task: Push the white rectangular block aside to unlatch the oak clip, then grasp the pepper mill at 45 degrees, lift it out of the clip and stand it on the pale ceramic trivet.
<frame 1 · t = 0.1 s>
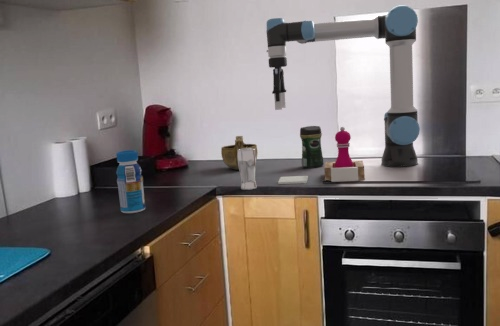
hand: (280, 108, 207), 28 cm above the countertop, tool pointing down, fingers open, 13 cm apart
beverage bottle: (133, 211, 164), on the countertop
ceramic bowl: (240, 169, 233), on the countertop
coffee jar: (312, 167, 225), on the countertop
trivet: (293, 180, 195), on the countertop
pepper mill: (344, 177, 195), resting in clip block
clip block: (344, 177, 195), on the countertop
beer glass: (248, 188, 187), on the countertop
white rectangular block: (344, 174, 186), point 3 cm above the countertop, slide at 0.0 cm
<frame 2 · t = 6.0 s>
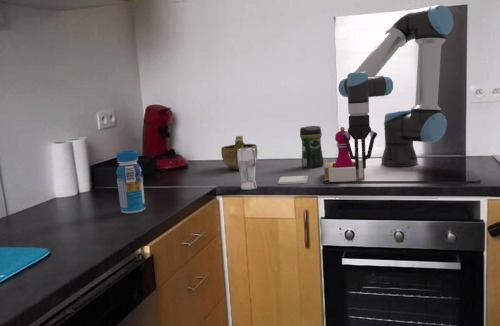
hand: (361, 177, 185), 2 cm above the countertop, tool pointing down, fingers closed
white rectangular block: (342, 174, 186), point 3 cm above the countertop, slide at 0.8 cm, touching gripper
everything else where it was.
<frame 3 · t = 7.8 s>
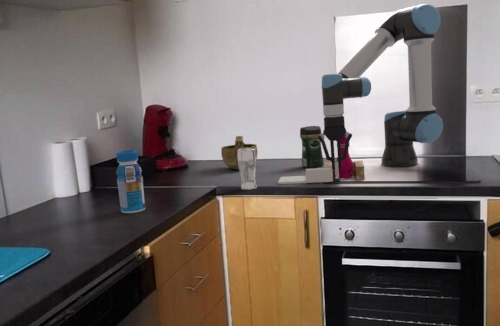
hand: (337, 178, 187), 1 cm above the countertop, tool pointing down, fingers closed
white rectangular block: (319, 175, 188), point 3 cm above the countertop, slide at 9.5 cm, touching gripper, trivet
everything else where it was.
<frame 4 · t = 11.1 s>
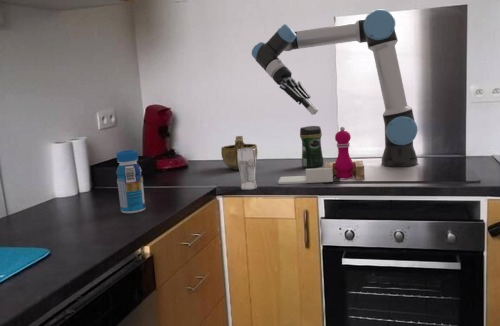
hand: (315, 112, 196), 26 cm above the countertop, tool tilted 45°, fingers closed
white rectangular block: (319, 175, 188), point 3 cm above the countertop, slide at 9.5 cm, touching trivet
everything else where it was.
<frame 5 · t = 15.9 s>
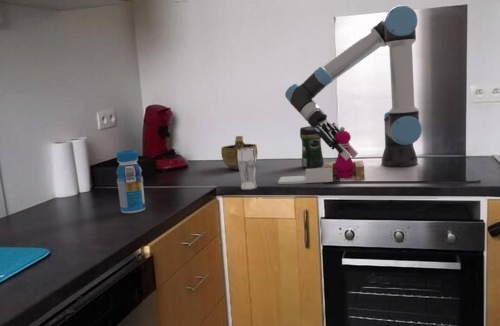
hand: (352, 156, 192), 8 cm above the countertop, tool tilted 45°, fingers closed on pepper mill, 5 cm apart
pepper mill: (344, 177, 195), resting in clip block, touching gripper
everything else where it was.
when the fingers open (11 cm above the countertop, at t = 21.1 s): pepper mill drops 1 cm, resting on trivet.
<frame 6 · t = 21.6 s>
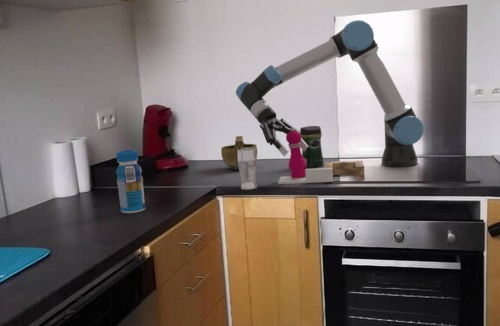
hand: (296, 151, 192), 12 cm above the countertop, tool tilted 45°, fingers open, 13 cm apart
pepper mill: (299, 176, 199), point 1 cm above the countertop, touching trivet
everything else where it was.
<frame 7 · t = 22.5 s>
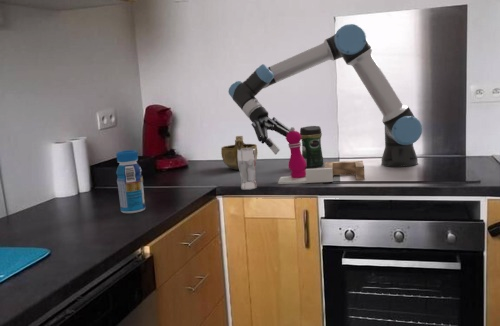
hand: (288, 149, 194), 12 cm above the countertop, tool tilted 45°, fingers open, 13 cm apart
pepper mill: (299, 176, 199), point 1 cm above the countertop, touching gripper, trivet
everything else where it was.
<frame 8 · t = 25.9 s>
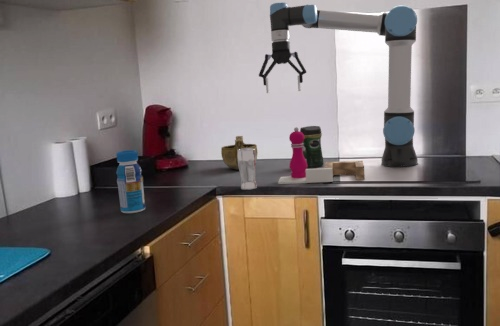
hand: (283, 92, 211), 35 cm above the countertop, tool pointing down, fingers open, 13 cm apart
pepper mill: (299, 177, 199), point 1 cm above the countertop, touching trivet
everything else where it was.
at the end: white rectangular block slide at 9.5 cm; pepper mill inside the target area on the trivet (4.7 cm from its centre), point 0.6 cm above the trivet's base; pepper mill tilted 0° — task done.
